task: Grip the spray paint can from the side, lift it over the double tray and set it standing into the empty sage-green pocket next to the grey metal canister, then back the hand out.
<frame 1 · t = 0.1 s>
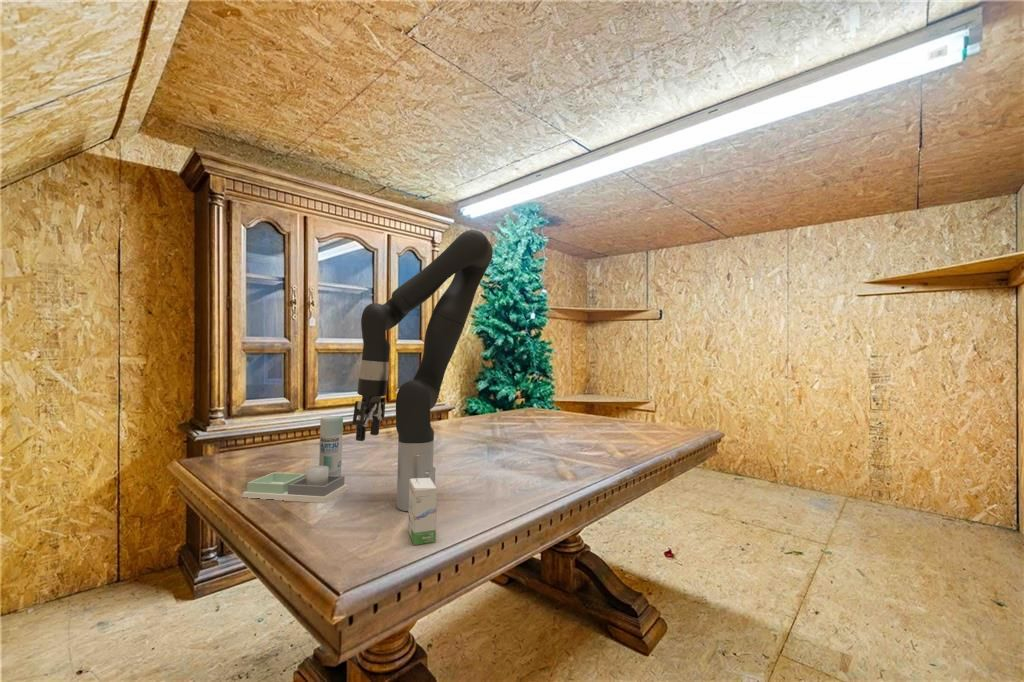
hand: (367, 437, 116), 17 cm above the table, tool pointing down, fingers open, 8 cm apart
spray paint can: (329, 482, 134), on the table
ink box: (421, 537, 95), on the table
double tray: (297, 493, 122), on the table
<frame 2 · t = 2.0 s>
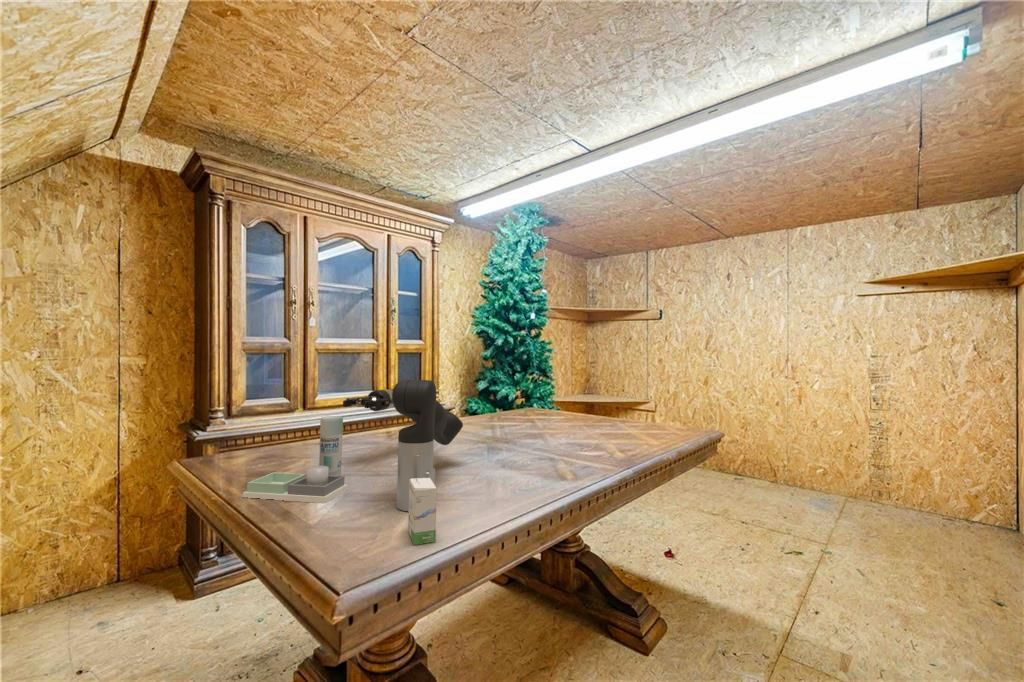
hand: (354, 404, 145), 23 cm above the table, tool horizontal, fingers open, 8 cm apart
nothing on the table moved.
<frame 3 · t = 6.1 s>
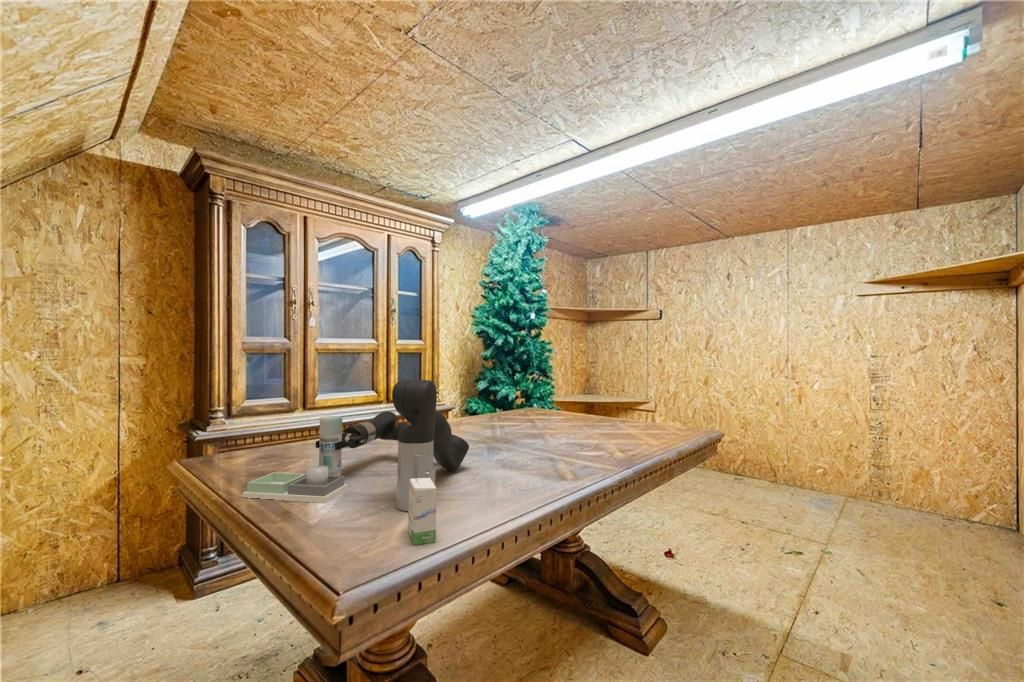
hand: (326, 445, 132), 12 cm above the table, tool horizontal, fingers closed on spray paint can, 6 cm apart
spray paint can: (329, 482, 134), on the table, touching gripper
everything else where it was.
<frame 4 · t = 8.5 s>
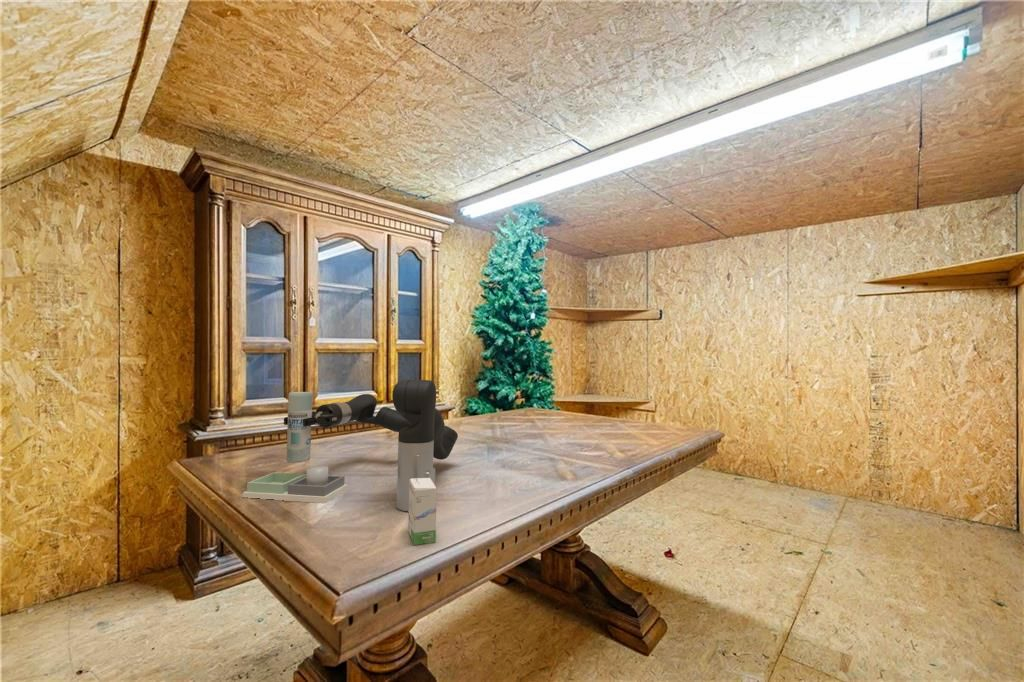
hand: (294, 422, 126), 20 cm above the table, tool horizontal, fingers closed on spray paint can, 6 cm apart
spray paint can: (298, 461, 127), point 8 cm above the table, touching gripper
everything else where it was.
when the fingers open (14 cm above the table, at t = 10.9 s): spray paint can stays where it is, resting on double tray.
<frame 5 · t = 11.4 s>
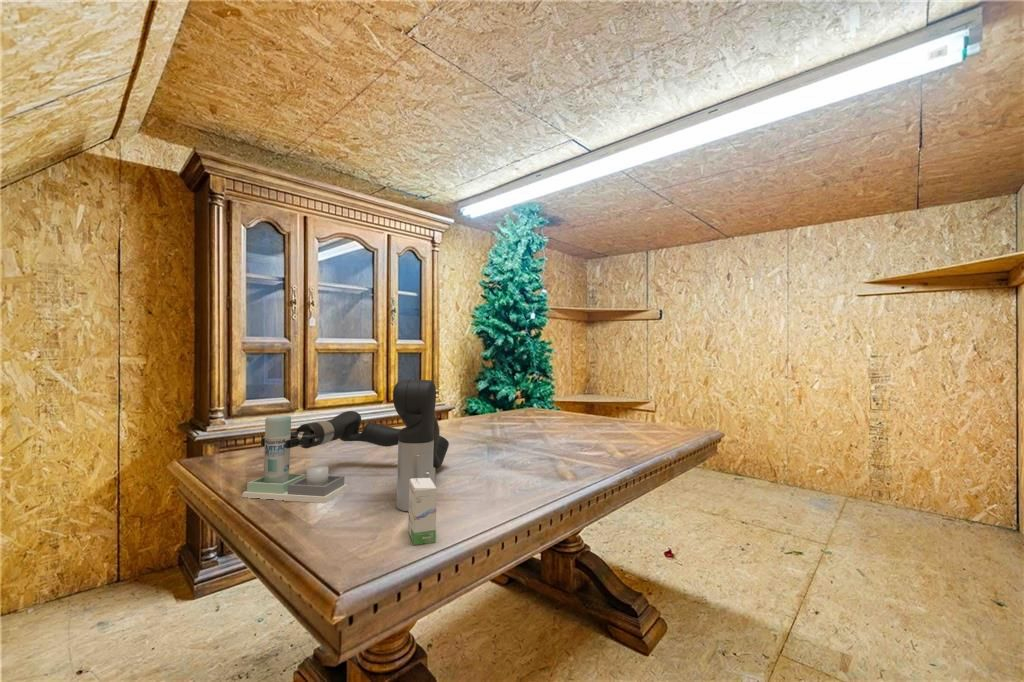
hand: (273, 443, 121), 14 cm above the table, tool horizontal, fingers open, 8 cm apart
spray paint can: (276, 488, 122), point 1 cm above the table, touching double tray
everything else where it was.
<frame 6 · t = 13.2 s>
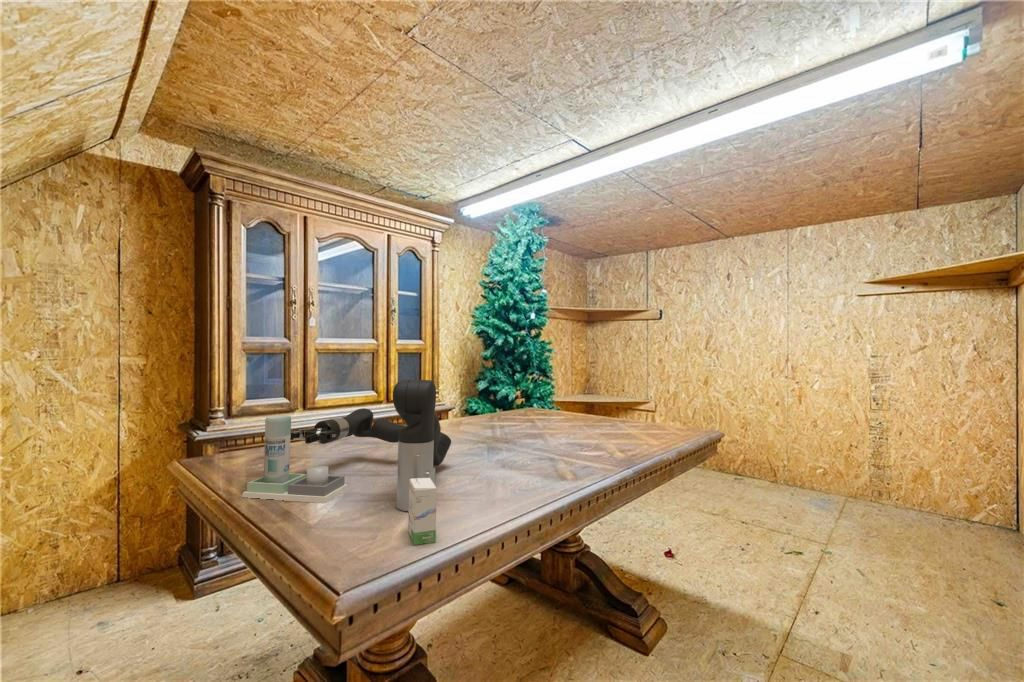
hand: (294, 439, 129), 14 cm above the table, tool horizontal, fingers open, 8 cm apart
nothing on the table moved.
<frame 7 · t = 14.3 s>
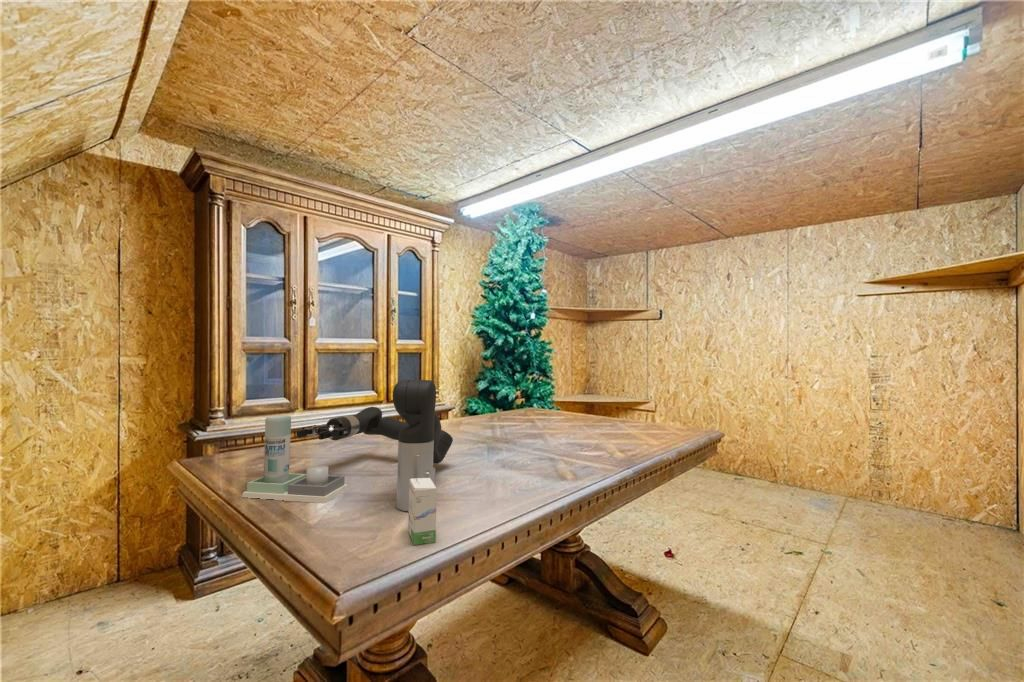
hand: (308, 435, 134), 14 cm above the table, tool horizontal, fingers open, 8 cm apart
nothing on the table moved.
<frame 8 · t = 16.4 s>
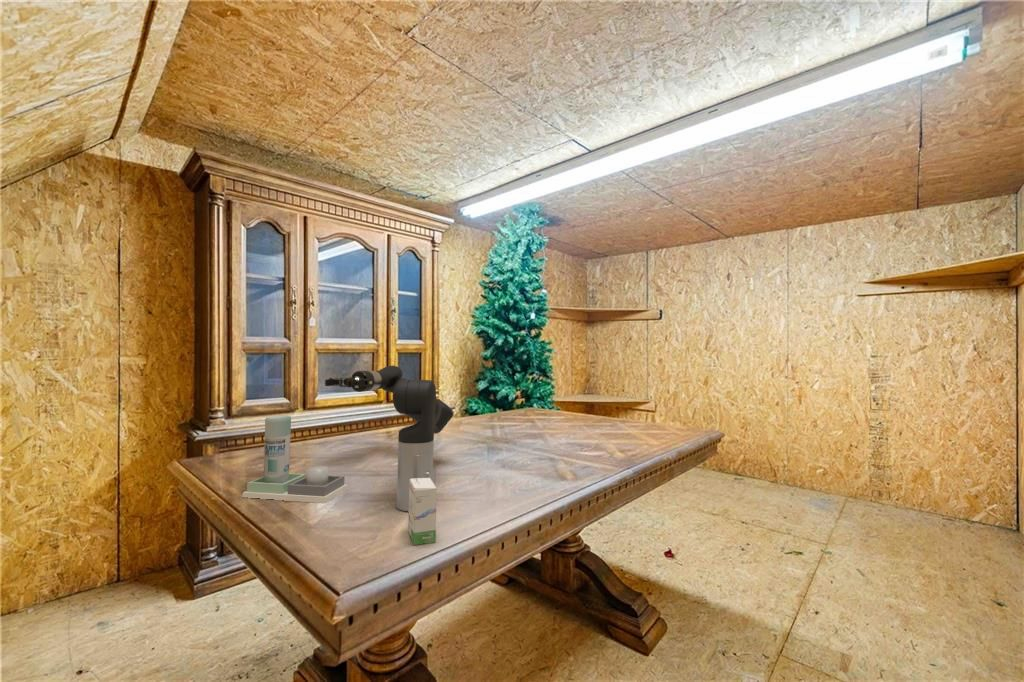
hand: (336, 383, 143), 30 cm above the table, tool horizontal, fingers open, 8 cm apart
nothing on the table moved.
at the end: spray paint can 0.6 cm from the target spot on the double tray, point 1.3 cm above the double tray's base; spray paint can tilted 1°; the gripper is holding nothing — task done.
